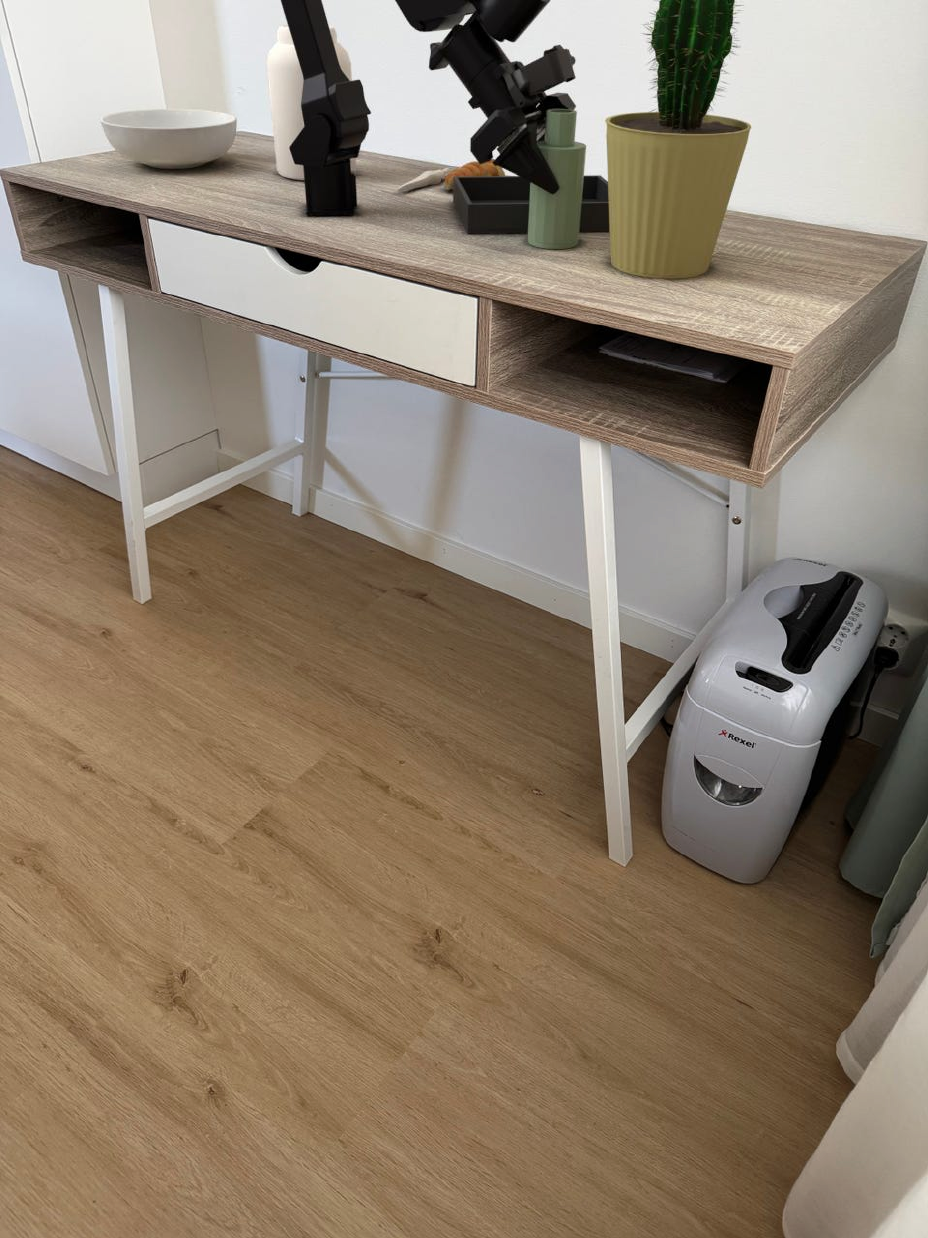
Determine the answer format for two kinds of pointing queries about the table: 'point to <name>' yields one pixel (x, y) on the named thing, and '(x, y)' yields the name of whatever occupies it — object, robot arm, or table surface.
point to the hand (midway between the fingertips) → (567, 186)
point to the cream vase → (292, 98)
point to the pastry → (474, 171)
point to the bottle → (559, 212)
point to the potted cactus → (676, 149)
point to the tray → (520, 204)
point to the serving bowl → (170, 136)
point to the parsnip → (425, 179)
